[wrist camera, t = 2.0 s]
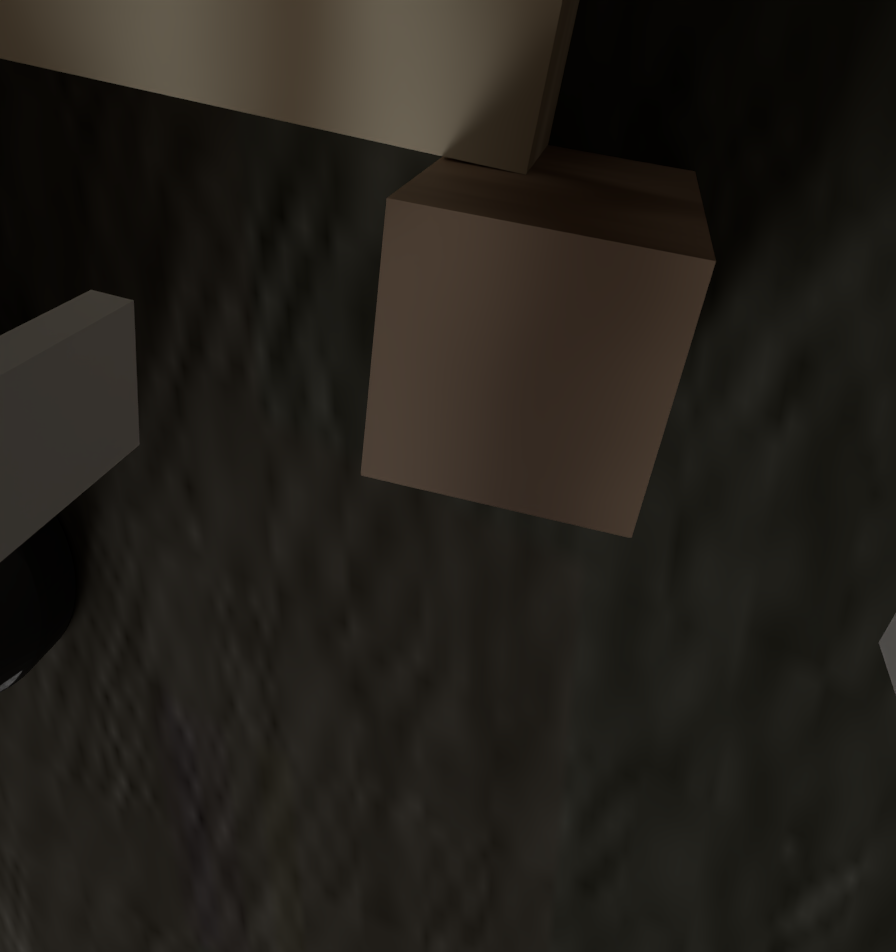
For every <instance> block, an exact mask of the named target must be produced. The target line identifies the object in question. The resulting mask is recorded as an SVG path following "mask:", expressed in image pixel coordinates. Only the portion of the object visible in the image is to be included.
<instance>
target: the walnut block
mask: <svg viewBox="0 0 896 952" xmlns="http://www.w3.org/2000/svg"><path fill="white" fill-rule="evenodd" d="M715 263H716V259H715V255H714V251H713V246H712V242H711V238H710V233H709V229H708V225H707V220H706V216H705V212H704V207H703V203H702V199H701V194H700V190H699V186H698V181H697V177H696V173H695V171H690V170H685V169H679V168H674V167H668V166H663V165H657V164H651V163H646V162H640V161H635V160H629V159H624V158H618V157H613V156H607V155H602V154H596V153H590V152H585V151H579V150H574V149H568V148H563V147H557V146H552V145H547V146H546V148H545V149H544V151H543V152H542V153H541V155H540V156H539V158H538V159H537V160H536V162H535V163H534V164H533V166H532V167H531V169H530V170H529V171H528V173H527V174H526V175H525V174H520V173H516V172H511V171H507V170H502V169H498V168H493V167H489V166H484V165H480V164H475V163H471V162H466V161H462V160H457V159H453V158H448V157H444V156H443V157H442V158H440V159H439V160H437V161H436V162H435V163H433V164H432V165H431V166H429V167H428V168H427V169H425V170H424V171H423V172H421V173H420V174H419V175H417V176H416V177H414V178H413V179H412V180H410V181H409V182H408V183H406V184H405V185H404V186H402V187H401V188H400V189H398V190H397V191H396V192H394V193H393V194H391V195H390V196H389V197H387V201H386V211H385V222H384V233H383V243H382V254H381V265H380V275H379V286H378V296H377V307H376V318H375V328H374V339H373V350H372V360H371V371H370V382H369V392H368V403H367V414H366V424H365V435H364V445H363V456H362V467H361V475H362V476H366V477H370V478H375V479H379V480H383V481H387V482H392V483H396V484H400V485H405V486H409V487H413V488H418V489H422V490H426V491H430V492H435V493H439V494H443V495H448V496H452V497H456V498H461V499H465V500H469V501H474V502H478V503H482V504H486V505H491V506H495V507H499V508H504V509H508V510H512V511H517V512H521V513H525V514H529V515H534V516H538V517H542V518H547V519H551V520H555V521H560V522H564V523H568V524H573V525H577V526H581V527H585V528H590V529H594V530H598V531H603V532H607V533H611V534H616V535H620V536H624V537H629V538H631V537H632V534H633V531H634V528H635V524H636V521H637V518H638V515H639V511H640V508H641V505H642V501H643V498H644V495H645V492H646V488H647V485H648V482H649V479H650V475H651V472H652V469H653V466H654V462H655V459H656V456H657V452H658V449H659V446H660V443H661V439H662V436H663V433H664V430H665V426H666V423H667V420H668V416H669V413H670V410H671V407H672V403H673V400H674V397H675V394H676V390H677V387H678V384H679V381H680V377H681V374H682V371H683V367H684V364H685V361H686V358H687V354H688V351H689V348H690V345H691V341H692V338H693V335H694V331H695V328H696V325H697V322H698V318H699V315H700V312H701V309H702V305H703V302H704V299H705V295H706V292H707V289H708V286H709V282H710V279H711V276H712V273H713V269H714V266H715Z"/></svg>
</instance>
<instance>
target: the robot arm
mask: <svg viewBox="0 0 896 952" xmlns="http://www.w3.org/2000/svg"><path fill="white" fill-rule="evenodd" d="M139 445H140V442H139V417H138V392H137V368H136V343H135V318H134V300H131V299H127V298H122V297H118V296H114V295H110V294H106V293H102V292H98V291H94V290H90V291H88V292H86V293H84V294H82V295H80V296H78V297H76V298H74V299H72V300H70V301H68V302H66V303H64V304H62V305H60V306H58V307H56V308H54V309H52V310H50V311H48V312H46V313H44V314H42V315H40V316H38V317H36V318H34V319H32V320H30V321H28V322H26V323H24V324H22V325H20V326H18V327H16V328H14V329H12V330H10V331H8V332H6V333H4V334H2V335H0V692H2V691H3V690H5V689H7V688H9V687H11V686H12V685H13V684H15V683H16V682H17V681H19V680H20V679H21V678H23V677H24V676H25V675H26V674H27V673H28V672H29V671H30V670H31V669H32V668H33V667H34V666H35V665H36V664H37V663H38V662H39V660H40V659H41V658H42V657H43V656H44V655H45V654H46V653H47V652H48V651H49V650H50V649H51V648H52V647H53V646H54V644H55V643H56V642H57V641H58V640H59V639H60V637H61V636H62V634H63V633H64V632H65V630H66V628H67V626H68V624H69V621H70V619H71V616H72V613H73V609H74V603H75V594H76V581H75V571H74V564H73V560H72V555H71V552H70V548H69V545H68V542H67V539H66V537H65V534H64V531H63V529H62V527H61V525H60V522H59V520H58V518H57V516H56V515H57V514H58V513H59V512H60V511H62V510H63V509H64V508H65V507H66V506H68V505H69V504H70V503H71V502H72V501H74V500H75V499H76V498H77V497H78V496H79V495H81V494H82V493H83V492H84V491H85V490H87V489H88V488H89V487H90V486H91V485H92V484H94V483H95V482H96V481H97V480H98V479H100V478H101V477H102V476H103V475H104V474H106V473H107V472H108V471H109V470H110V469H111V468H113V467H114V466H115V465H116V464H117V463H119V462H120V461H121V460H122V459H123V458H125V457H126V456H127V455H128V454H129V453H130V452H132V451H133V450H134V449H135V448H136V447H138V446H139ZM879 645H880V648H881V651H882V654H883V657H884V660H885V663H886V666H887V669H888V672H889V675H890V678H891V681H892V685H893V688H894V691H895V694H896V614H895V615H894V617H893V619H892V621H891V622H890V624H889V626H888V628H887V629H886V631H885V633H884V634H883V636H882V638H881V640H880V641H879Z"/></svg>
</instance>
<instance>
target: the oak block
mask: <svg viewBox="0 0 896 952" xmlns="http://www.w3.org/2000/svg"><path fill="white" fill-rule="evenodd" d="M578 5H579V0H0V58H1V59H5V60H10V61H14V62H19V63H23V64H28V65H32V66H37V67H41V68H46V69H50V70H55V71H59V72H64V73H69V74H73V75H78V76H82V77H87V78H91V79H96V80H100V81H105V82H109V83H114V84H118V85H123V86H127V87H132V88H136V89H141V90H145V91H150V92H154V93H159V94H163V95H168V96H172V97H177V98H181V99H186V100H190V101H195V102H200V103H204V104H209V105H213V106H218V107H222V108H227V109H231V110H236V111H240V112H245V113H249V114H254V115H258V116H263V117H267V118H272V119H276V120H281V121H285V122H290V123H294V124H299V125H303V126H308V127H312V128H317V129H322V130H326V131H331V132H335V133H340V134H344V135H349V136H353V137H358V138H362V139H367V140H371V141H376V142H380V143H385V144H389V145H394V146H398V147H403V148H407V149H412V150H416V151H421V152H425V153H430V154H434V155H439V156H444V157H448V158H453V159H457V160H462V161H466V162H471V163H475V164H480V165H484V166H489V167H493V168H498V169H502V170H507V171H511V172H516V173H520V174H525V175H526V174H527V173H528V171H529V170H530V169H531V167H532V166H533V164H534V163H535V162H536V160H537V159H538V158H539V156H540V155H541V153H542V152H543V151H544V149H545V148H546V146H547V145H548V142H549V138H550V133H551V129H552V124H553V119H554V115H555V110H556V106H557V101H558V96H559V92H560V87H561V83H562V78H563V74H564V69H565V64H566V60H567V55H568V51H569V46H570V41H571V37H572V32H573V28H574V23H575V19H576V14H577V9H578Z"/></svg>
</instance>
